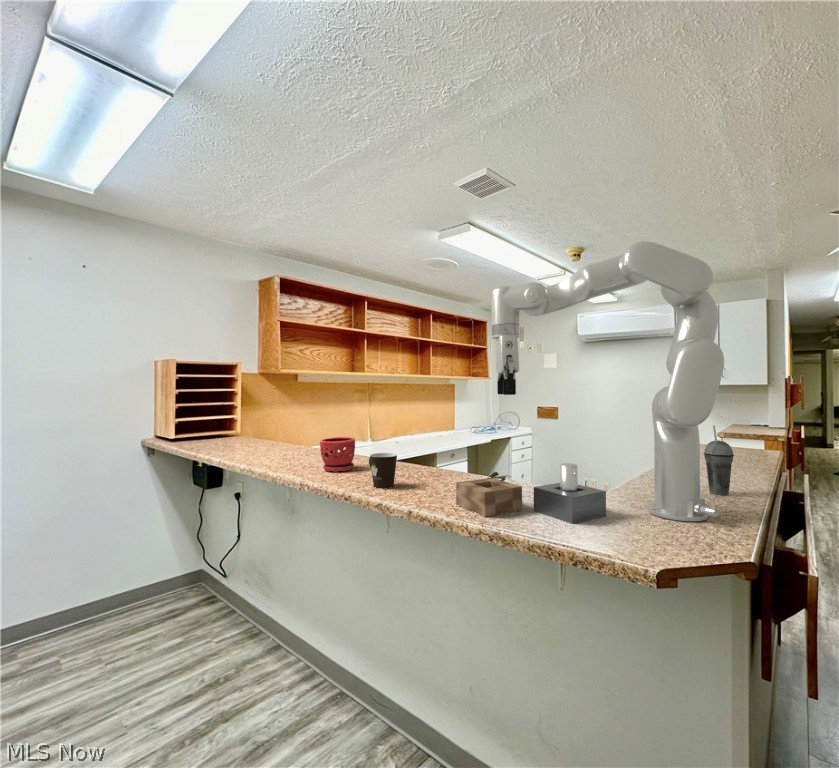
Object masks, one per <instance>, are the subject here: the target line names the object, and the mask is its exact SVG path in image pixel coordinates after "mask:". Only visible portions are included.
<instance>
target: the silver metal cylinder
mask: <svg viewBox="0 0 839 768" xmlns="http://www.w3.org/2000/svg"><path fill="white" fill-rule="evenodd" d="M559 466H560V472H559V476H560V477H559V478H560V479H559V481H560V482H559V483H560V490H562V491H565V492H569V493H572V492H577V491H578V485H579V484H578V464H575V463H560V464H559Z"/></svg>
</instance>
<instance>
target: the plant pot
mask: <svg viewBox="0 0 839 768" xmlns="http://www.w3.org/2000/svg"><path fill="white" fill-rule="evenodd" d="M319 450H320V456H321V459H322V462H323V463H324V465H323V467H322V468H323V469H324V471H326V472H329V471H333V472H332V473H338V472H337V471H343V472H347V470H348V471H350V470H352V469H353V468H354V466H355V464H354V463H353V460H354V457H355V450H356V439H355V437H350V436H343V437H342V436H339V437H338V436H337V437H330V438H329V437H327V438H323V439H320V441H319ZM338 451H339V452H338Z"/></svg>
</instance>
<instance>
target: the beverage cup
mask: <svg viewBox="0 0 839 768" xmlns="http://www.w3.org/2000/svg"><path fill="white" fill-rule="evenodd" d="M712 428H713V429H712V430H713V435H714V436H713V437H714V440H712V441H710V442H708V443H707V445H706V446H705V448H704V451H703V454H704V460H705V465H706V474H707V482H708V488H709V489H708V490H709V494H711V495H713V494H714V496H719V495H721V497H727V495H728V496H729V492H730V487H731V486H730V485H731V475H732V465H733V464H732V463H733V461H734V456H735V455H734V451H733V448H732V447H731V446H730V444H729V443H727V442H725V441H723V440H718V437H717V431H716V425H714V424H713V425H712Z"/></svg>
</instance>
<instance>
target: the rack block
mask: <svg viewBox="0 0 839 768" xmlns="http://www.w3.org/2000/svg"><path fill="white" fill-rule="evenodd" d="M455 485H456V486H455V489H456V490H455V491H456V492H455V493H456V495H455V496H456V497H455V501H456V506H457V505H459V506H461V507H460V508H462V507H463V508H462V509H464V508H466V509H468V510H467V511H469V510H471V511H473V512H472V513H474V512H476V513H478V514H480V515H479V516H481V515H482V516H481V517H483V516H485V517H484V518H487V517H486V516H489V517H493V516H492V515H494V516H497V514H499V515H502V514H501V513H504V514H507V513H506V512H509V513H512V512H511V511H514V512H518V511H517V510H519V511H523V485H520V484H519V485H518V484H515V483H511V482H509V481H504V480H503V481H501V480H499V478H489V477H486V478H481V479H474V480H473V479H472V480H466V481H465V480H464V481H458V482H455ZM459 506H458V507H459ZM466 509H465V510H466ZM471 511H470V512H471ZM476 513H475V514H476ZM478 514H477V515H478Z"/></svg>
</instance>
